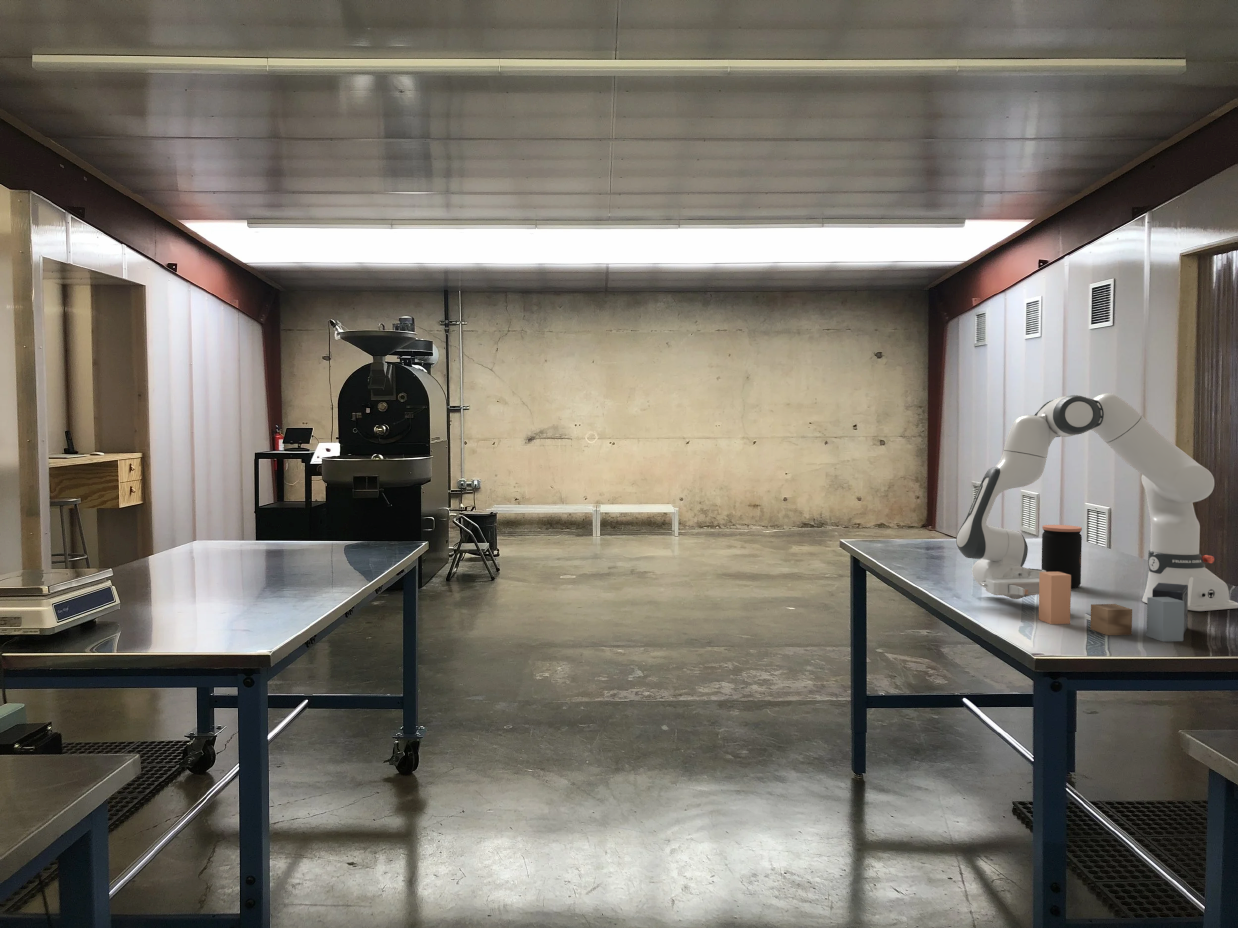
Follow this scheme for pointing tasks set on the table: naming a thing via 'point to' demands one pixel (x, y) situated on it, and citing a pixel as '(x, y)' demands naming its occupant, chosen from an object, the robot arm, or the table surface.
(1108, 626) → the walnut block
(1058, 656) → the table surface
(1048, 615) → the terracotta block
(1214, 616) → the table surface
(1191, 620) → the table surface
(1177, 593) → the small box
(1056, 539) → the coffee jar
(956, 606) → the table surface
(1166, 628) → the slate block
